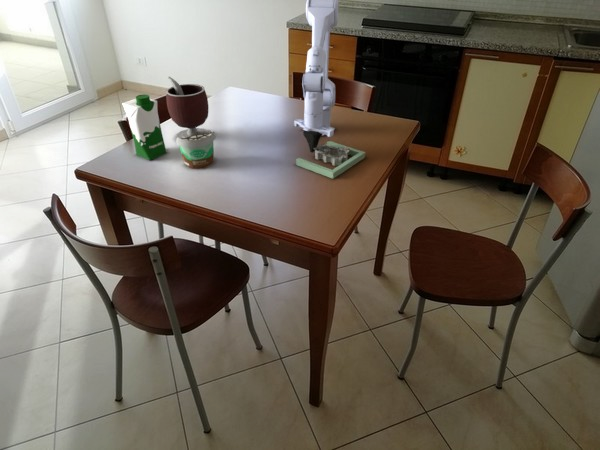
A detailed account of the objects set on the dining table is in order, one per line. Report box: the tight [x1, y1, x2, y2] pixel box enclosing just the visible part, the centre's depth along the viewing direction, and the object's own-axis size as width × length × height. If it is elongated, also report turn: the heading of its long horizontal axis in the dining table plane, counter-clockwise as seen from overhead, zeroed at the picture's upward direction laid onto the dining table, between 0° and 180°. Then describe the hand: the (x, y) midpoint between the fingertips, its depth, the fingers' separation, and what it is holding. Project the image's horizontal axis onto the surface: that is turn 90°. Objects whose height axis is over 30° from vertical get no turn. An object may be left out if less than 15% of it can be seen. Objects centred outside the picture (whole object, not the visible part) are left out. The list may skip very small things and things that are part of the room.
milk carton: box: [121, 94, 167, 161], centre depth 137 cm, size 9×9×20 cm
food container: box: [175, 129, 216, 170], centre depth 133 cm, size 12×6×10 cm, turn 117°
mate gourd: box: [165, 76, 211, 140], centre depth 149 cm, size 16×14×20 cm
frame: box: [295, 140, 366, 180], centre depth 137 cm, size 14×18×2 cm
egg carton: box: [313, 143, 350, 167], centre depth 137 cm, size 11×8×4 cm
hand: (313, 151), depth 140 cm, fingers closed
